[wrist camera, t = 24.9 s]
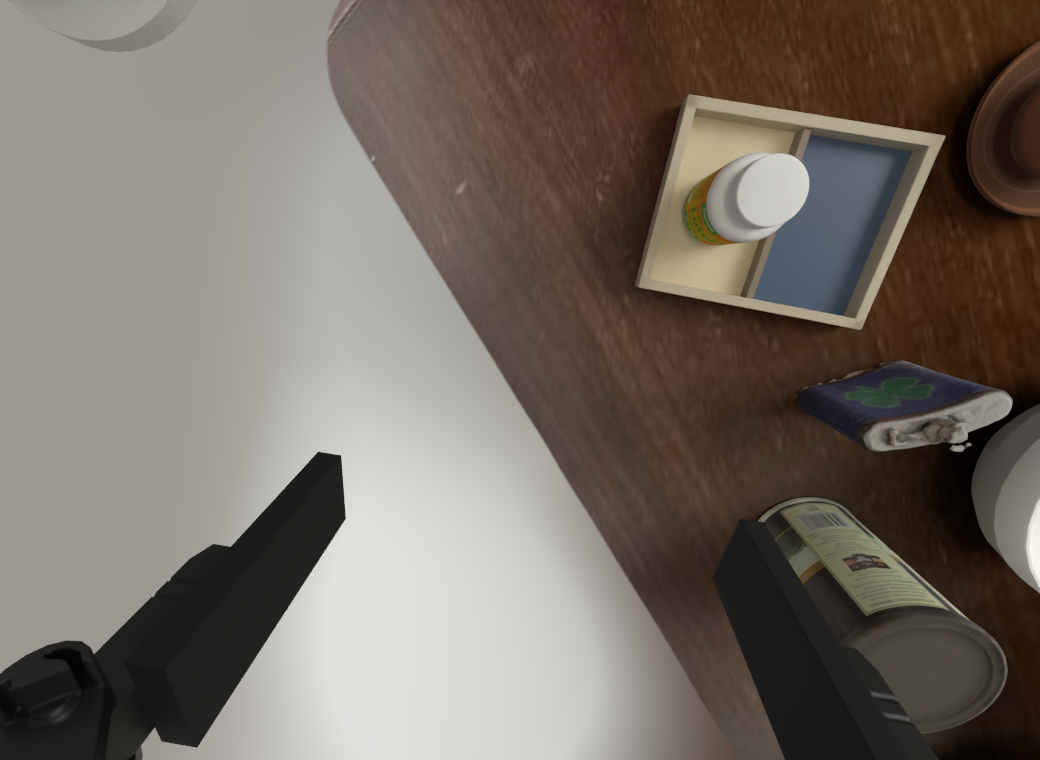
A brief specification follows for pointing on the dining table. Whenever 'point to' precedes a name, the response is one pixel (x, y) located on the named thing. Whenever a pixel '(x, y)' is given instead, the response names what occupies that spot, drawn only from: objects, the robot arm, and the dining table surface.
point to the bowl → (1012, 494)
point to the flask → (904, 406)
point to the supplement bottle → (746, 199)
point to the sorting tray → (811, 231)
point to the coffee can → (890, 614)
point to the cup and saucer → (1009, 137)
